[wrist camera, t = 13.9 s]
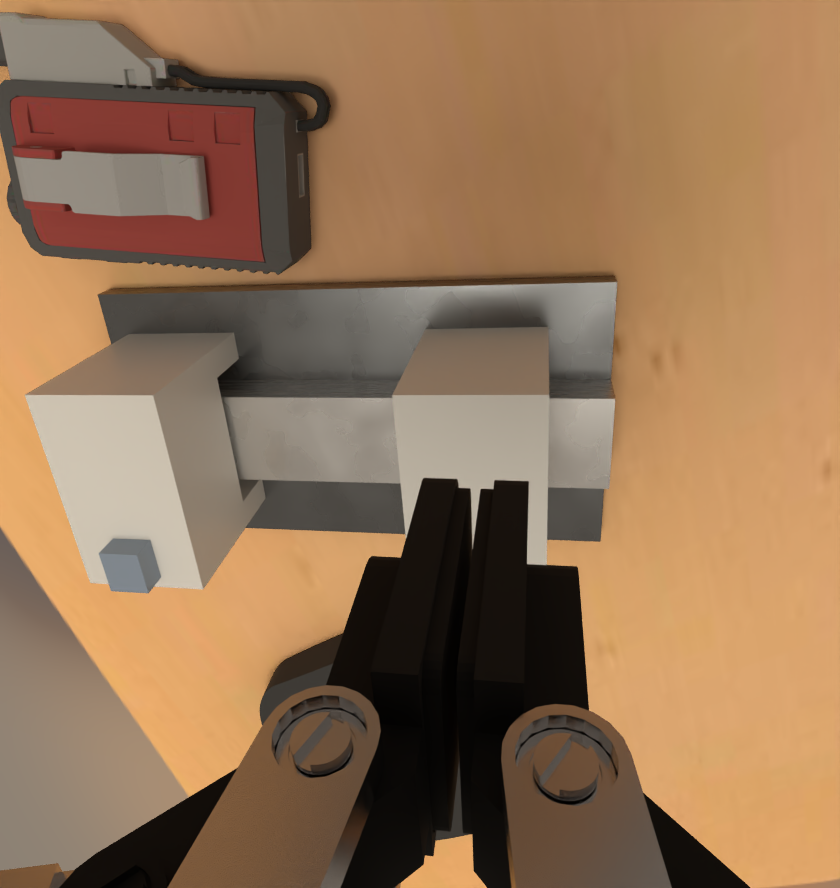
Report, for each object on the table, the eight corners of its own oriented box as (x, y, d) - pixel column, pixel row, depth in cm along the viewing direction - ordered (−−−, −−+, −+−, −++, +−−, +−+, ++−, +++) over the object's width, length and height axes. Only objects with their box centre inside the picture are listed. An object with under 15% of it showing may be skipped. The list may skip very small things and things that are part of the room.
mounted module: (128, 333, 31) (5, 406, 24) (233, 332, 30) (138, 407, 23) (171, 494, 34) (75, 598, 27) (265, 498, 34) (191, 605, 27)
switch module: (425, 329, 28) (385, 407, 21) (548, 326, 27) (549, 408, 20) (437, 506, 32) (407, 622, 25) (545, 509, 31) (546, 629, 24)
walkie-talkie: (338, 27, 25) (-144, 11, 28) (299, 15, 21) (-256, -2, 24) (341, 267, 29) (-79, 234, 32) (309, 294, 25) (-166, 254, 28)
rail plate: (110, 288, 31) (69, 307, 28) (614, 275, 27) (622, 295, 25) (170, 513, 36) (141, 547, 34) (598, 529, 33) (603, 568, 30)
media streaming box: (452, 584, 36) (444, 623, 33) (582, 763, 40) (585, 810, 38) (247, 669, 41) (227, 708, 39) (382, 818, 46) (372, 863, 43)
